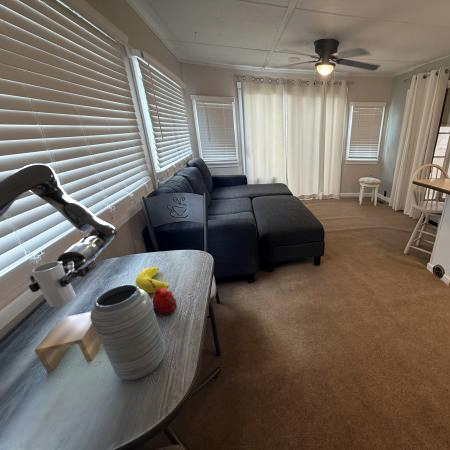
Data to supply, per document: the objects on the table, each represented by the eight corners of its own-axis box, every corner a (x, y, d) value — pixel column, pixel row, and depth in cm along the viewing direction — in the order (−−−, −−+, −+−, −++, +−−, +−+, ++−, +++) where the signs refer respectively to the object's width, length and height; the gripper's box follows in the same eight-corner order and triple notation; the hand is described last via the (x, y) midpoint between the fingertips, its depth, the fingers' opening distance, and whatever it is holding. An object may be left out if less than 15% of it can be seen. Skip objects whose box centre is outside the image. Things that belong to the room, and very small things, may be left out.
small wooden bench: (47, 372, 63) (33, 350, 60) (71, 337, 74) (61, 317, 71) (92, 361, 66) (81, 339, 63) (109, 329, 76) (101, 309, 74)
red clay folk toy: (181, 309, 84) (172, 273, 79) (161, 321, 79) (150, 284, 73) (170, 301, 88) (160, 266, 83) (150, 313, 83) (138, 276, 77)
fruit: (157, 263, 108) (169, 282, 94) (158, 272, 109) (169, 293, 95) (131, 267, 101) (139, 289, 87) (132, 277, 102) (140, 300, 88)
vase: (115, 362, 65) (85, 293, 57) (162, 339, 72) (141, 275, 64) (119, 395, 57) (84, 320, 48) (172, 366, 64) (149, 296, 55)
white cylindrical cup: (44, 309, 63) (25, 274, 59) (56, 296, 68) (39, 263, 64) (69, 304, 65) (52, 269, 61) (79, 292, 70) (64, 259, 66)
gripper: (46, 249, 73) (4, 280, 58) (102, 242, 77) (75, 268, 62) (57, 270, 76) (18, 304, 61) (109, 262, 80) (86, 292, 65)
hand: (47, 286), depth 62 cm, fingers closed on white cylindrical cup, 5 cm apart
